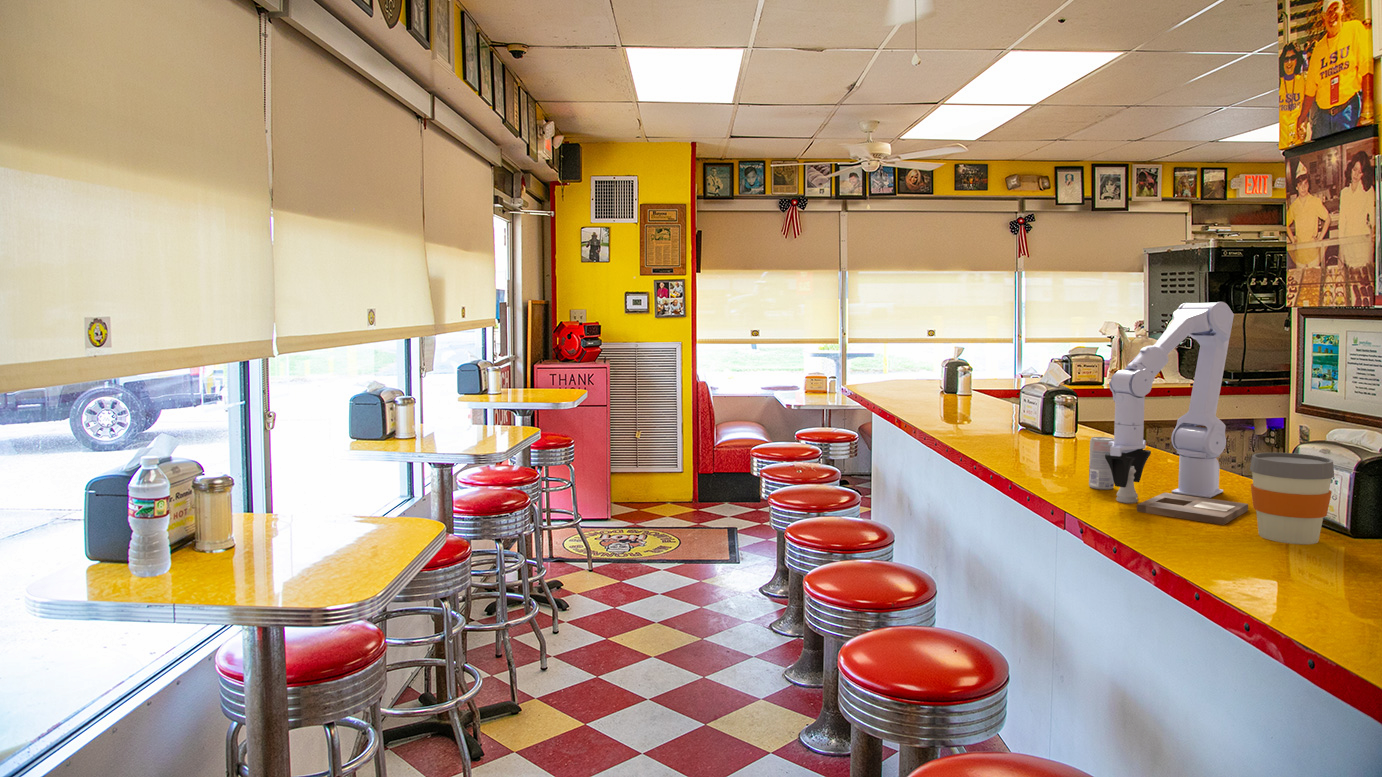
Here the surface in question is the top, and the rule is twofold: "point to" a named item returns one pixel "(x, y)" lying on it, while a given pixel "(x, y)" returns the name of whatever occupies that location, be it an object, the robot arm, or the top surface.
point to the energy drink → (1100, 464)
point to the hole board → (1193, 508)
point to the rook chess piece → (1128, 490)
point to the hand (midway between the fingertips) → (1127, 484)
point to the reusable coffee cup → (1291, 495)
